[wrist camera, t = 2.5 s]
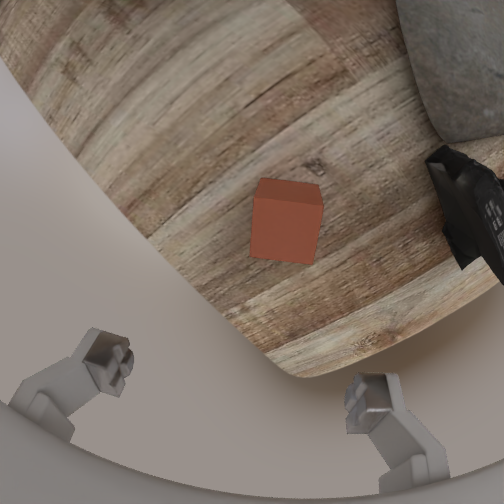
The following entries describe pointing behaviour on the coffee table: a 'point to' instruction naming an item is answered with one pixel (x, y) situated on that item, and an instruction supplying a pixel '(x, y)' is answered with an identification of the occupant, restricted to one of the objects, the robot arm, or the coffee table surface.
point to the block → (286, 221)
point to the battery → (470, 208)
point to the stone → (457, 64)
